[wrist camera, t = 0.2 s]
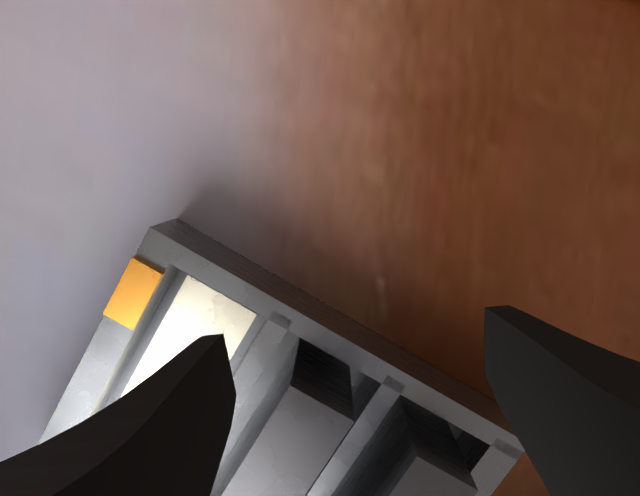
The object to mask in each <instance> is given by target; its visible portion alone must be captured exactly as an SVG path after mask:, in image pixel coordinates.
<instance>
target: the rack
mask: <svg viewBox="0 0 640 496" xmlns="http://www.w3.org/2000/svg"><path fill="white" fill-rule="evenodd" d="M103 314H104V317H103V319H102V321H101V323H100V324H99V326H98V328H97V330H96V332H95V334H94V336H93V338H92V340H91V342H90V344H89V346H88V348H87V350H86V352H85V353H84V355H83V357H82V359H81V361H80V363H79V365H78V367H77V369H76V371H75V373H74V375H73V377H72V379H71V381H70V382H69V384H68V386H67V388H66V390H65V392H64V394H63V396H62V398H61V400H60V402H59V404H58V406H57V408H56V410H55V411H54V413H53V415H52V417H51V419H50V421H49V423H48V425H47V427H46V429H45V431H44V433H43V435H42V437H41V439H40V440H39V442H38V444H37V445H39V444H41V443H43V442H45V441H47V440H48V439H50V438H52V437H54V436H56V435H58V434H60V433H62V432H64V431H65V430H67V429H69V428H71V427H73V426H75V425H77V424H79V423H80V422H82V421H84V420H86V419H87V418H89V417H91V416H92V415H94V414H96V413H97V412H99V411H100V410H102V409H104V408H105V407H107V406H108V405H110V404H111V403H113V402H115V401H116V400H118V399H119V398H120V397H122V396H123V395H125V394H126V393H128V392H129V391H130V390H132V389H133V388H134V387H136V386H137V385H138V384H140V383H141V382H142V381H144V380H145V379H147V378H148V377H149V376H151V375H152V374H153V373H155V372H156V371H157V370H158V369H160V368H161V367H162V366H163V365H165V364H166V363H167V362H168V361H170V360H171V359H172V358H173V357H175V356H176V355H177V354H178V353H180V352H181V351H182V350H183V349H185V348H186V347H187V346H188V345H190V344H191V343H192V342H194V341H195V340H196V339H198V338H199V337H201V336H203V335H213V334H224V338H225V343H226V348H227V352H228V357H229V361H230V366H231V371H232V375H233V380H234V385H235V389H236V394H237V396H236V402H235V409H234V415H233V421H232V426H231V430H230V433H229V437H228V440H227V443H226V447H225V450H224V453H223V456H222V459H221V463H220V466H219V469H218V472H217V475H216V478H215V482H214V485H213V488H212V491H211V494H210V496H491V494H492V493H493V492H494V490H495V489H496V488H497V487H498V485H499V484H500V483H501V481H502V480H503V479H504V477H505V476H506V475H507V474H508V472H509V471H510V470H511V468H512V467H513V466H514V464H515V463H516V462H517V461H518V459H519V458H520V457H521V455H522V454H523V453H524V452H525V450H524V448H523V446H522V445H521V443H520V441H519V440H518V438H517V436H516V435H515V433H514V431H513V430H512V428H511V426H510V425H509V423H508V421H507V419H506V418H505V416H504V414H503V413H502V411H501V409H500V407H499V406H498V404H497V403H496V402H495V401H493V400H491V399H489V398H488V397H486V396H484V395H482V394H481V393H479V392H477V391H475V390H474V389H472V388H470V387H468V386H467V385H465V384H463V383H462V382H460V381H458V380H456V379H455V378H453V377H451V376H449V375H448V374H446V373H444V372H442V371H441V370H439V369H437V368H435V367H434V366H432V365H430V364H429V363H427V362H425V361H423V360H422V359H420V358H418V357H416V356H415V355H413V354H411V353H409V352H408V351H406V350H404V349H402V348H401V347H399V346H397V345H396V344H394V343H392V342H390V341H389V340H387V339H385V338H383V337H382V336H380V335H378V334H376V333H375V332H373V331H371V330H369V329H368V328H366V327H364V326H363V325H361V324H359V323H357V322H356V321H354V320H352V319H350V318H349V317H347V316H345V315H343V314H342V313H340V312H338V311H336V310H335V309H333V308H331V307H330V306H328V305H326V304H324V303H323V302H321V301H319V300H317V299H316V298H314V297H312V296H310V295H309V294H307V293H305V292H303V291H302V290H300V289H298V288H297V287H295V286H293V285H291V284H290V283H288V282H286V281H284V280H283V279H281V278H279V277H277V276H276V275H274V274H272V273H270V272H269V271H267V270H265V269H264V268H262V267H260V266H258V265H257V264H255V263H253V262H251V261H250V260H248V259H246V258H244V257H243V256H241V255H239V254H238V253H236V252H234V251H232V250H231V249H229V248H227V247H225V246H224V245H222V244H220V243H218V242H217V241H215V240H213V239H211V238H210V237H208V236H206V235H205V234H203V233H201V232H199V231H198V230H196V229H194V228H192V227H191V226H189V225H187V224H185V223H184V222H182V221H180V220H178V219H177V218H176V219H173V220H170V221H167V222H164V223H161V224H158V225H155V226H152V227H150V228H149V230H148V232H147V234H146V235H145V237H144V239H143V241H142V243H141V245H140V247H139V249H138V251H137V253H136V255H135V256H134V257H132V258H131V260H130V262H129V264H128V266H127V268H126V270H125V272H124V273H123V275H122V277H121V279H120V281H119V283H118V285H117V287H116V289H115V291H114V293H113V295H112V297H111V299H110V301H109V303H108V304H107V306H106V308H105V310H104V312H103Z"/></svg>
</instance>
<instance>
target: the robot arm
mask: <svg viewBox="0 0 640 496" xmlns="http://www.w3.org/2000/svg"><path fill="white" fill-rule="evenodd" d="M484 373H485V375H486V378H487V380H488V383H489V385H490V388H491V390H492V392H493V395H494V397H495V399H496V401H497V404H498V406H499V407H500V409H501V411H502V413H503V414H504V416H505V418H506V419H507V421H508V423H509V425H510V426H511V428H512V430H513V431H514V433H515V435H516V436H517V438H518V440H519V441H520V443H521V445H522V446H523V448H524V450H525V452H526V453H527V455H528V457H529V458H530V460H531V462H532V463H533V465H534V467H535V468H536V470H537V472H538V473H539V475H540V477H541V478H542V480H543V482H544V484H545V486H546V488H547V490H548V491H549V493H550V495H551V496H640V362H638V361H635V360H632V359H629V358H626V357H624V356H621V355H618V354H616V353H613V352H611V351H608V350H606V349H603V348H601V347H599V346H596V345H594V344H591V343H589V342H587V341H584V340H582V339H580V338H578V337H575V336H573V335H571V334H569V333H567V332H565V331H562V330H560V329H558V328H556V327H554V326H552V325H550V324H548V323H546V322H544V321H542V320H540V319H537V318H535V317H533V316H531V315H529V314H527V313H525V312H523V311H521V310H518V309H516V308H514V307H511V306H508V305H506V306H496V307H486V308H485V322H484ZM236 396H237V394H236V389H235V385H234V380H233V375H232V371H231V366H230V361H229V357H228V352H227V348H226V343H225V338H224V334H213V335H203V336H201V337H199V338H198V339H196V340H195V341H194V342H192V343H191V344H190V345H188V346H187V347H186V348H185V349H183V350H182V351H181V352H180V353H178V354H177V355H176V356H175V357H173V358H172V359H171V360H170V361H168V362H167V363H166V364H165V365H163V366H162V367H161V368H160V369H158V370H157V371H156V372H155V373H153V374H152V375H151V376H149V377H148V378H147V379H145V380H144V381H142V382H141V383H140V384H138V385H137V386H136V387H134V388H133V389H132V390H130V391H129V392H128V393H126V394H125V395H123V396H122V397H120V398H119V399H118V400H116V401H115V402H113V403H111V404H110V405H108V406H107V407H105V408H104V409H102V410H100V411H99V412H97V413H96V414H94V415H92V416H91V417H89V418H87V419H86V420H84V421H82V422H80V423H79V424H77V425H75V426H73V427H71V428H69V429H67V430H65V431H64V432H62V433H60V434H58V435H56V436H54V437H52V438H50V439H48V440H47V441H45V442H43V443H41V444H39V445H37V446H35V447H32V448H30V449H28V450H26V451H24V452H22V453H20V454H17V455H15V456H13V457H11V458H8V459H6V460H4V461H2V462H0V496H210V494H211V491H212V488H213V485H214V482H215V478H216V475H217V472H218V469H219V466H220V463H221V459H222V456H223V453H224V450H225V447H226V443H227V440H228V437H229V433H230V430H231V426H232V421H233V415H234V409H235V402H236Z"/></svg>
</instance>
